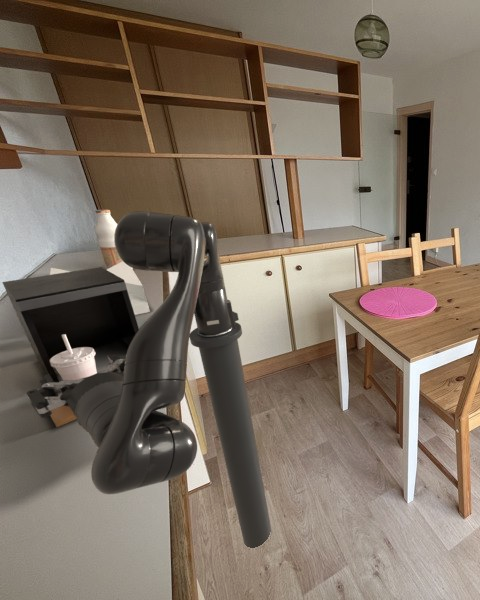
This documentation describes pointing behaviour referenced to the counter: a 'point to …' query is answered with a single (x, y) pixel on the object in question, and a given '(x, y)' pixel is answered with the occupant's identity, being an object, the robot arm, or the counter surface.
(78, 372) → the smoothie
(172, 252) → the robot arm
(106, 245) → the fruit juice
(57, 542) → the counter surface
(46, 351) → the shelf
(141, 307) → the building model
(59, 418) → the board
